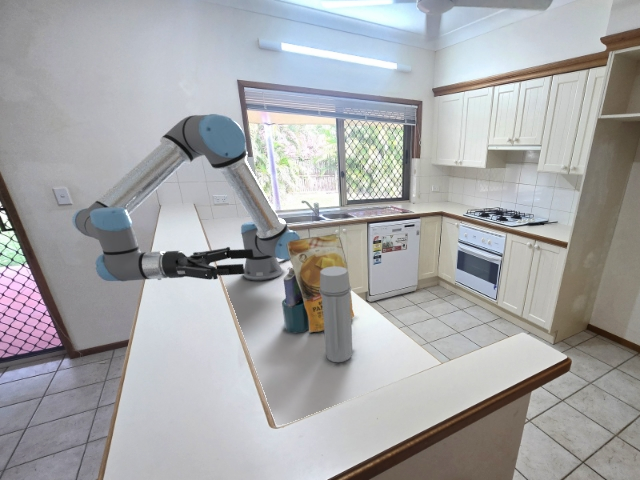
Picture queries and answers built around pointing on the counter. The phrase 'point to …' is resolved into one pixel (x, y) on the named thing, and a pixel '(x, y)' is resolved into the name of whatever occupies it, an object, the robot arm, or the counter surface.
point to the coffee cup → (295, 317)
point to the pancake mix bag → (315, 271)
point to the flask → (292, 289)
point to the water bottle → (336, 313)
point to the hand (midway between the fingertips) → (248, 260)
